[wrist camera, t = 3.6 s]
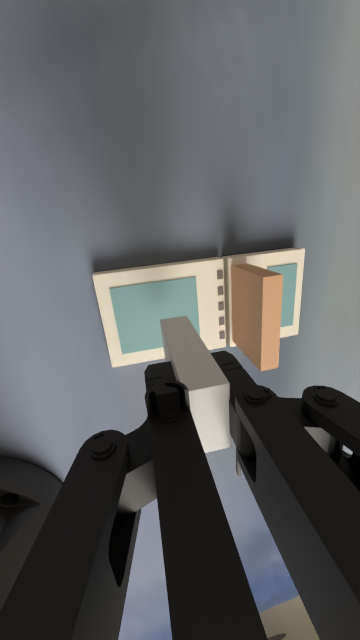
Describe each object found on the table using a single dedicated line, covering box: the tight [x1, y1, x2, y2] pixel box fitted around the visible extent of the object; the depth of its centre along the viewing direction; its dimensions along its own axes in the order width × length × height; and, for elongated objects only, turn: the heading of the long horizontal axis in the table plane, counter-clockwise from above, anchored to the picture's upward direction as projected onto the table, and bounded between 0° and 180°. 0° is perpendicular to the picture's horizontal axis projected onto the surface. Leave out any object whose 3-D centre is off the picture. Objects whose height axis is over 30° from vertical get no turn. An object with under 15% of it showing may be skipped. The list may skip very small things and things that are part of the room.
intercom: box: [222, 247, 305, 371], centre depth 18 cm, size 6×7×6 cm
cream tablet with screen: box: [92, 257, 226, 367], centre depth 19 cm, size 9×7×1 cm
